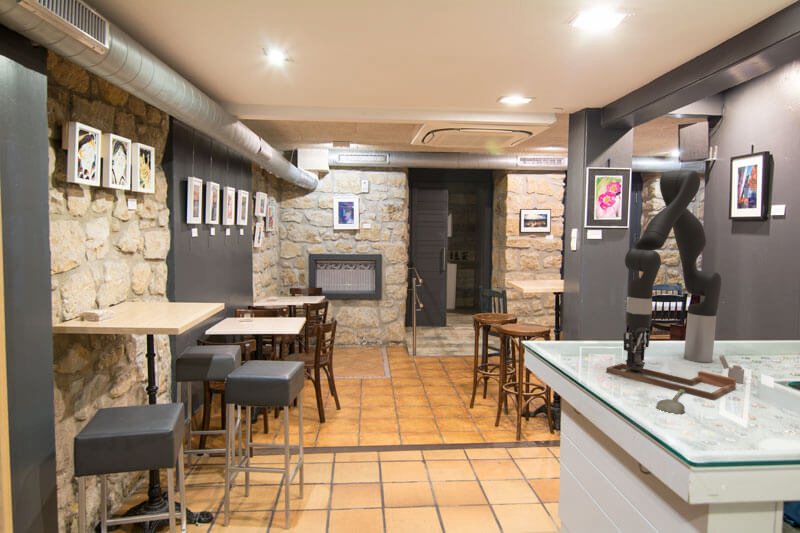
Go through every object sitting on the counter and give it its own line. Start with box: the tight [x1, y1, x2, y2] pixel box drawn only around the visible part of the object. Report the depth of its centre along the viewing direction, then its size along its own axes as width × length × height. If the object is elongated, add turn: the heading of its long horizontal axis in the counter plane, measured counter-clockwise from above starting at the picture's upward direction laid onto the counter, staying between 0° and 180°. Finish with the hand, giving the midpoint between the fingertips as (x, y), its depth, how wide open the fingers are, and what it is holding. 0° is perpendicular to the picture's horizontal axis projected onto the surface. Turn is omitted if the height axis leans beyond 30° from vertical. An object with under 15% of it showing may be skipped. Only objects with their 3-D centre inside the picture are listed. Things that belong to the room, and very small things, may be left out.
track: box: [605, 362, 737, 401], centre depth 162 cm, size 18×32×3 cm, turn 40°
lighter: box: [718, 354, 745, 385], centre depth 163 cm, size 7×2×8 cm, turn 56°
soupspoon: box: [656, 389, 686, 415], centre depth 141 cm, size 22×3×7 cm
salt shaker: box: [625, 341, 646, 376], centre depth 166 cm, size 6×6×12 cm
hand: (635, 361), depth 166 cm, fingers closed on salt shaker, 6 cm apart
